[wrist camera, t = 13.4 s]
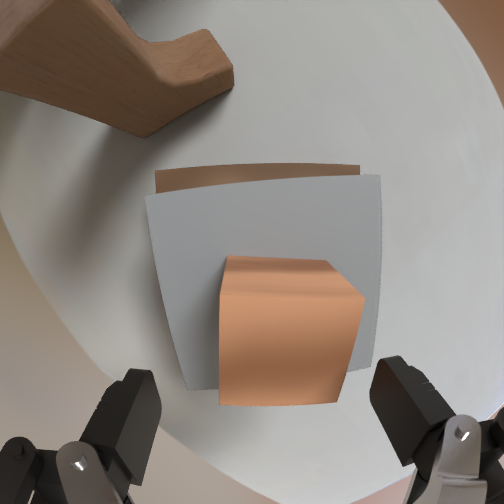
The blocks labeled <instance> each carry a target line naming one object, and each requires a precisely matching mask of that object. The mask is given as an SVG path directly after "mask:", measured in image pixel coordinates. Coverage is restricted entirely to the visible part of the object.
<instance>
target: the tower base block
mask: <svg viewBox="0 0 504 504" xmlns="http://www.w3.org/2000/svg"><path fill="white" fill-rule="evenodd" d="M343 175H360V165H343V164H314V163H264V164H234V165H216V166H201V167H189V168H177V169H167V170H158V171H155V181H156V194H158V193H164V192H171V191H177V190H184V189H191V188H199V187H206V186H214V185H223V184H231V183H241V182H251V181H261V180H273V179H286V178H301V177H319V176H343Z"/></svg>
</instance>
